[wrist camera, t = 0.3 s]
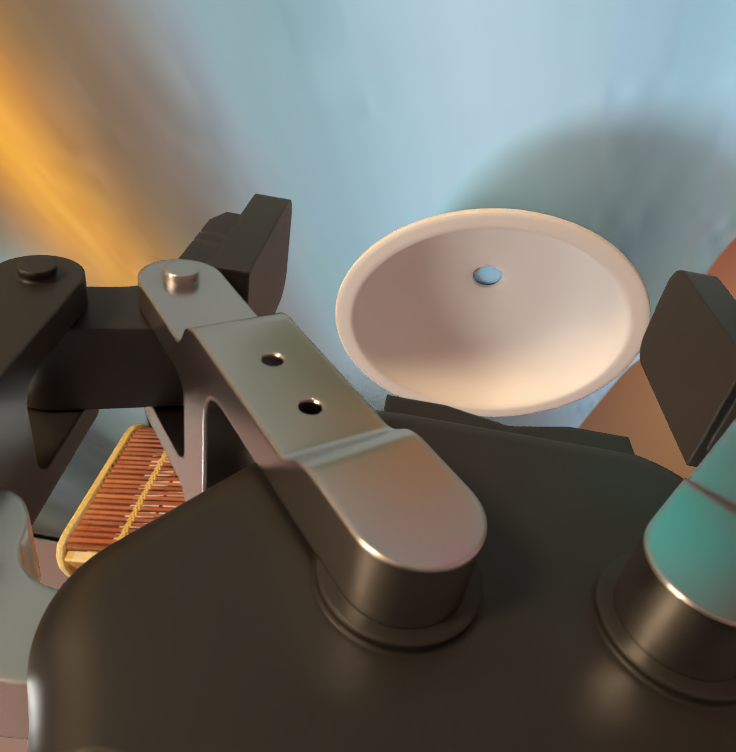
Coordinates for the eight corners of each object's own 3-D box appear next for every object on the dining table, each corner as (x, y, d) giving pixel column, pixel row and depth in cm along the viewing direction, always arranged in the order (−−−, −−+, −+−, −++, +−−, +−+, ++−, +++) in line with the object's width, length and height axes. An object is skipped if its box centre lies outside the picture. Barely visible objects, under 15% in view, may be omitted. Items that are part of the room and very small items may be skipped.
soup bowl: (702, 186, 47) (719, 251, 43) (571, 379, 66) (575, 436, 62) (366, 120, 46) (353, 180, 42) (334, 335, 65) (323, 390, 61)
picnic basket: (187, 495, 101) (119, 712, 83) (107, 399, 81) (-4, 659, 63) (376, 504, 95) (345, 739, 77) (341, 402, 75) (290, 690, 57)
